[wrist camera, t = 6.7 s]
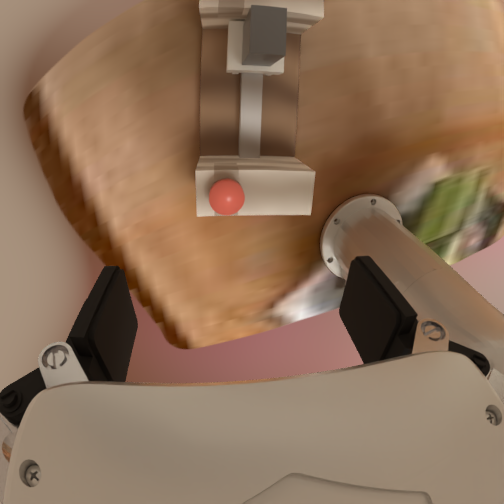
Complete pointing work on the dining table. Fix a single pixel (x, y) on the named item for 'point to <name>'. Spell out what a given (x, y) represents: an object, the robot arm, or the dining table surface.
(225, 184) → the red knob cap
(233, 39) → the carriage
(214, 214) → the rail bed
